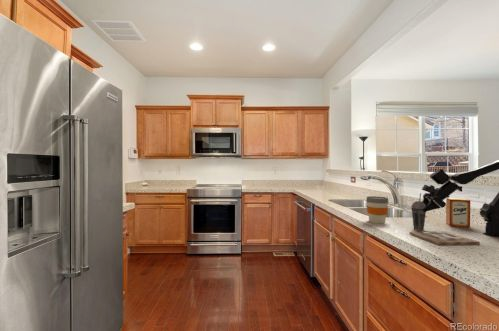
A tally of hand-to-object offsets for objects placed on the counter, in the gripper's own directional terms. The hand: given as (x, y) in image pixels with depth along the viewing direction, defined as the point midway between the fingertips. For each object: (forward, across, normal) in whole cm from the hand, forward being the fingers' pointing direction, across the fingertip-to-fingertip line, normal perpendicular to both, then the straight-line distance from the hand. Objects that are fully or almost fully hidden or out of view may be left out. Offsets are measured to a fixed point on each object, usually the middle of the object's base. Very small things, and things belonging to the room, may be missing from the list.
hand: (420, 209), depth 141 cm
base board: (+4, +17, +11) cm, 21 cm away
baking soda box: (-9, -19, +24) cm, 32 cm away
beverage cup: (+8, 0, +7) cm, 11 cm away
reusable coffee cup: (+22, -13, -6) cm, 26 cm away
